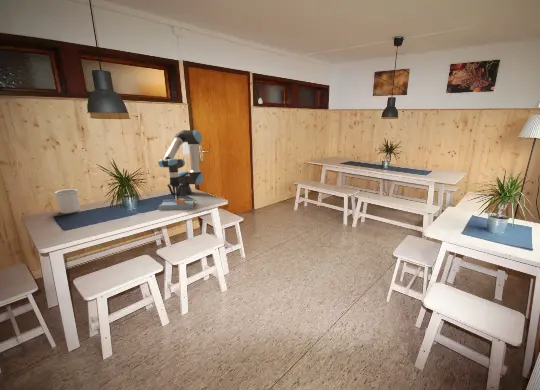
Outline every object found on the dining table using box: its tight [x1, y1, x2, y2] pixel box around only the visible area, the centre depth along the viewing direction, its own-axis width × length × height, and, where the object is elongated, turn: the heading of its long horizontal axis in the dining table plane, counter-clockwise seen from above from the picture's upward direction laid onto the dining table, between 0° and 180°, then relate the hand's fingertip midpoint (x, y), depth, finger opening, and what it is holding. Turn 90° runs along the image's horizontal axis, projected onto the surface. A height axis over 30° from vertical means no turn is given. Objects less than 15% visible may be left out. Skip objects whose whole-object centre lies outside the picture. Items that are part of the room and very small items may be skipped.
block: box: [177, 198, 186, 205], centre depth 232 cm, size 6×6×4 cm
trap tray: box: [158, 198, 196, 211], centre depth 233 cm, size 16×28×4 cm, turn 97°
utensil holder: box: [54, 188, 81, 214], centre depth 219 cm, size 15×15×18 cm
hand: (176, 202), depth 233 cm, fingers closed
